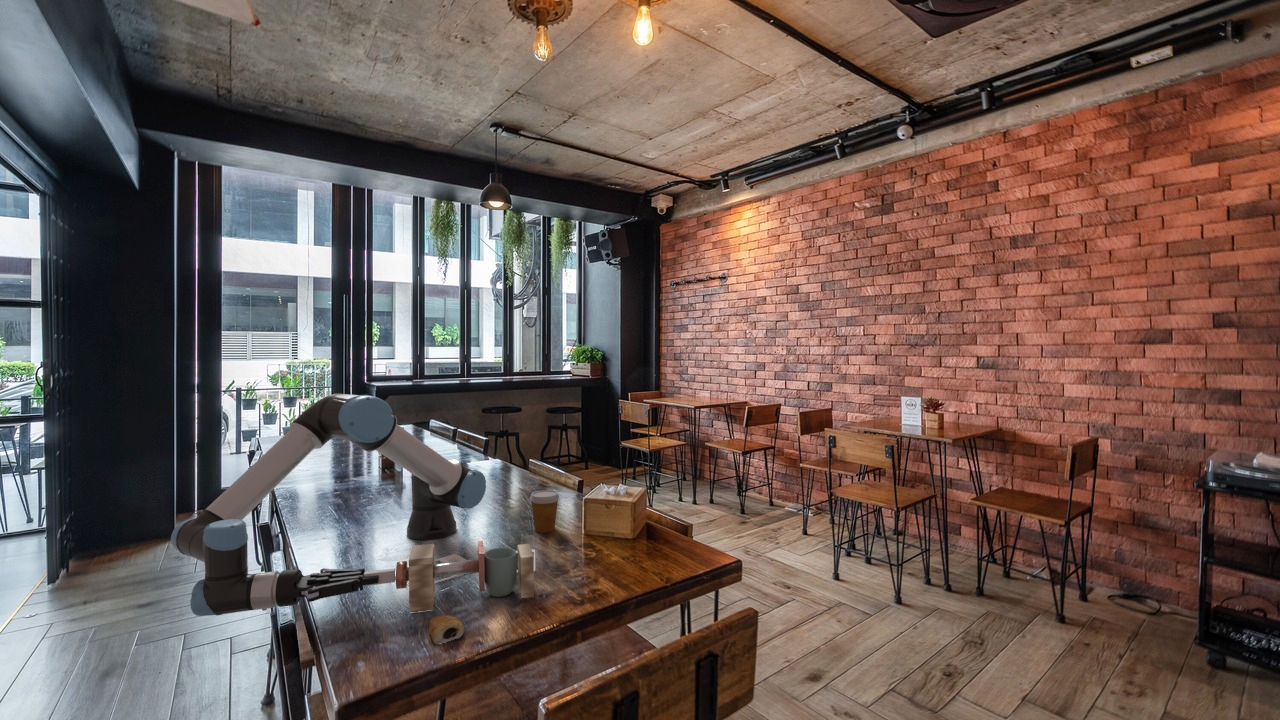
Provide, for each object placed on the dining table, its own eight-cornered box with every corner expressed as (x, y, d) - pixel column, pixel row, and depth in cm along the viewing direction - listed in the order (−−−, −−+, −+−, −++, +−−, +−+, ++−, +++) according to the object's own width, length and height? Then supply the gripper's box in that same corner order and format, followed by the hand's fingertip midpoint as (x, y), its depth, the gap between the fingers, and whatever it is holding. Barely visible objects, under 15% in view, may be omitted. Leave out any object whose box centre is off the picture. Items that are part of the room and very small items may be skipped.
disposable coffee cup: (562, 525, 191) (562, 490, 190) (555, 535, 181) (555, 497, 181) (534, 524, 192) (534, 489, 191) (526, 534, 182) (526, 497, 182)
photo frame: (481, 567, 154) (415, 587, 141) (481, 571, 154) (415, 592, 141) (455, 553, 164) (392, 571, 152) (455, 556, 164) (392, 575, 152)
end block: (521, 598, 136) (520, 557, 136) (518, 583, 145) (517, 544, 145) (534, 597, 137) (533, 556, 137) (529, 582, 146) (529, 543, 146)
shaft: (395, 602, 128) (394, 563, 128) (399, 586, 137) (398, 549, 136) (484, 591, 134) (484, 553, 134) (483, 576, 142) (483, 540, 142)
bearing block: (409, 614, 129) (408, 559, 129) (413, 596, 138) (412, 545, 137) (432, 610, 130) (432, 557, 130) (434, 593, 139) (434, 543, 139)
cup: (488, 603, 134) (487, 561, 134) (481, 590, 141) (480, 550, 141) (520, 596, 138) (520, 555, 137) (512, 584, 145) (512, 545, 144)
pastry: (422, 629, 123) (422, 612, 123) (453, 620, 127) (453, 603, 126) (435, 648, 115) (434, 629, 115) (468, 638, 119) (467, 620, 119)
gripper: (288, 593, 131) (398, 579, 138) (269, 619, 119) (391, 603, 126) (287, 561, 131) (397, 549, 138) (268, 584, 119) (391, 570, 126)
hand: (394, 575), depth 132 cm, fingers closed
